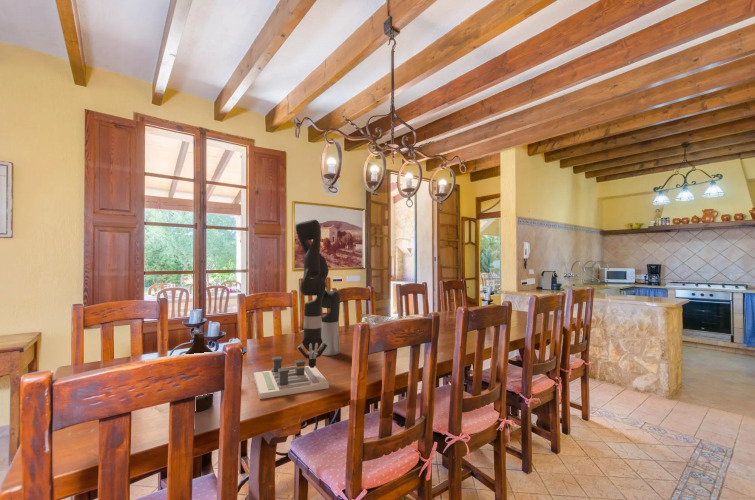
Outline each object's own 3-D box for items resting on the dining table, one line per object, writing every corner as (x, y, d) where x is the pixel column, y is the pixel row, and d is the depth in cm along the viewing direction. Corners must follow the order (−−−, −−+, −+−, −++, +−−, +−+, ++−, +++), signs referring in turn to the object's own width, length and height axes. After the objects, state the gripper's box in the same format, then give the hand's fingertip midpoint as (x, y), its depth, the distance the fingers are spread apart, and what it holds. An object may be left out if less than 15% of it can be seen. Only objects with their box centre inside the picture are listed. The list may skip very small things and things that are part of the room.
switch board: (313, 369, 155) (314, 351, 155) (328, 388, 133) (329, 366, 133) (253, 377, 144) (254, 357, 144) (259, 399, 122) (259, 376, 122)
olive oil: (178, 404, 117) (180, 332, 118) (212, 397, 123) (213, 328, 124) (180, 416, 108) (182, 338, 109) (216, 408, 114) (218, 334, 115)
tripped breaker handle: (303, 373, 143) (303, 359, 143) (305, 375, 139) (305, 361, 139) (294, 374, 141) (294, 360, 141) (296, 377, 138) (296, 362, 138)
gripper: (325, 323, 149) (324, 362, 148) (295, 325, 143) (294, 366, 143) (330, 326, 142) (329, 368, 142) (298, 329, 136) (298, 372, 136)
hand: (312, 367), depth 142 cm, fingers closed
